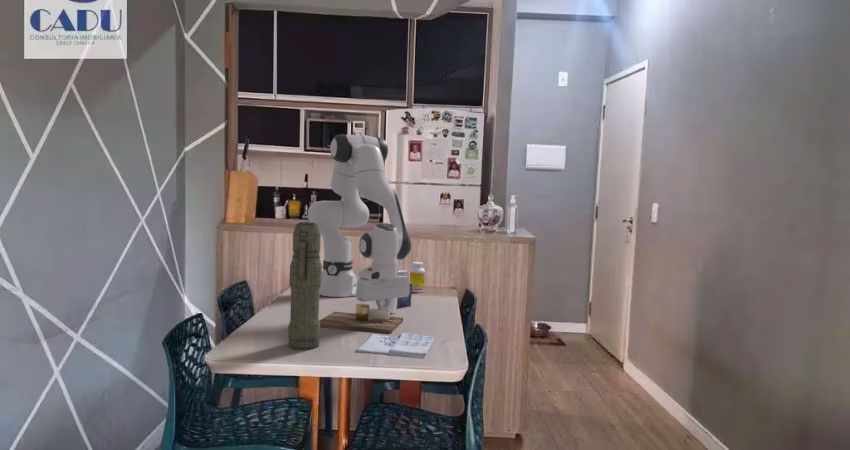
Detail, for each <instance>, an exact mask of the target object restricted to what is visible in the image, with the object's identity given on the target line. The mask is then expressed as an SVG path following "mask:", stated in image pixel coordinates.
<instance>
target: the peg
mask: <svg viewBox="0 0 850 450" xmlns="http://www.w3.org/2000/svg"><path fill="white" fill-rule="evenodd" d="M355 314H356V320H359V321H366V320H369V318H374V319H385V320H389V317H391V316H390V310H385V309H378V308H373V307H372V308H371V307H370V304H369V303H356V304H355Z"/></svg>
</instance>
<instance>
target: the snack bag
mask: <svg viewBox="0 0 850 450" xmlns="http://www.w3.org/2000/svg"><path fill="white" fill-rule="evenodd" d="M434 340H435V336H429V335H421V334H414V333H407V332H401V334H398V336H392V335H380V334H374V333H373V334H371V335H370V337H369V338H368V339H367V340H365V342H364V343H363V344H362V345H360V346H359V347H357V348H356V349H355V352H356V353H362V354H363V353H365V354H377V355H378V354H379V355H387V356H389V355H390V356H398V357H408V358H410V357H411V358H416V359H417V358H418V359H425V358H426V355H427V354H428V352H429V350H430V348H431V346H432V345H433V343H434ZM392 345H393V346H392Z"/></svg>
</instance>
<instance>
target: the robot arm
mask: <svg viewBox="0 0 850 450" xmlns="http://www.w3.org/2000/svg"><path fill="white" fill-rule="evenodd" d="M388 152H389V147H388V142H387V141H386V140H385V139H384V138H382V137H379V136H372V135H366V134H344V133H340V134H336V135H334V137H333V138H332V140H331V141H330V155H331V158H332V159H333V160H334V164H333V168H332V175H331V180H330V187H331V190H332V191H333V192H334V193H335V194H337V195H338V196H340V197H341V199H340V200H319V201H314V202H312V203H311V204H310V206H309V207H308V211H307V218H308V220H309V222H310V223H316V224H317V225H318V226H319V229H320V233H321V238H322V240H323V250H324V251H323V252H324V253H323V254H324V255H323V258H324V259H323V260H322V269H323V270H322V280H321V286H320V290H319V296H323V297H329V298H330V297H331V298H342V297H343V298H346V297H356V299H357V301H359V302H373V301H374V302H375V303H376V306H377V309H385V310H388V307H389V305H390V303H391V299H392V298H401V297H408V296H409V294H410V286H409V283H410V273H409V272H408V271H407V270H404V269H403V270H398V268H399V267H398V266H399V265H398V264H399V263H398V260H402V261H403V260H404V259H405V258H407V256H409V254H410V253H411V251H412V241H411V238H410V235H409V233H408V230H407V228H406V224H405V220H404V216H403V212H402V208H401V204H400V201H399V198H398V194H397V192H396V190H395V189H394V188H392V187H391V185H390V184H389V182H388V180H387V177H386V168H385V161H386V160H387V158H388V155H389V153H388ZM360 195H361V196H362V197H363V198H365V199H367V200H368V201H372V202H374V203H376V204H378V205H380V206H382V207H383V208H384V209H385V210H386V212H387V216H388V220H389V223H383V222H382V223H377V224H376V225H374V229H373V230H371V231H368V232H364V234H362V236H361V237H360V239H359V252H360V254H361V255H362V256H363V257H364V258H365V259H368V260H369V259H370V260H371V259H372V261H371V265H370V266H368V267H366V268H363V269H361V270H360V271H358V276H357V275H356V274H355V273H354V270H353V265H354V260H352V243H351V241H350V239H349V238H347V237H346V236H344V235H342V234H341V233H340V229H339V228H357V227H362V226H365V225H366V224H367V223H368V221H369V219H370V210H369V208H368V206H367V204H365V203H364V202H363V200H362V199H361V197H360ZM357 277H359V279H358V278H357ZM383 299H385V300H384V301H386V302H385V304H384V306H382V300H383Z"/></svg>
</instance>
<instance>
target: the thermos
mask: <svg viewBox="0 0 850 450" xmlns="http://www.w3.org/2000/svg"><path fill="white" fill-rule="evenodd" d="M321 238H322V235H321V233H320V229H319V226H318V225H317V224H316V223H311V222H310V221H309V222H306V221H305V222H298V223H296V224H295V227H294V230H293V234H292V252H293V253H292V256H291V257H292V259H291V263H290V264H289V265H290V266H289V286H290V313H289V314H290V316H289V317H290V319H289V320H290V321H289V323H288V326H287V338H288V343H287V344H288V348H290V349H293V350H298V351H308V350H309V351H310V350H314V349H317V348H319V347H320V337H321V327H320V322H319V319H320V315H319V313H320V294H319V290H320V286H321V280H322V271H323V270H322V269H323V264H322V261H321V256H320V251H321V240H322V239H321Z"/></svg>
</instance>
